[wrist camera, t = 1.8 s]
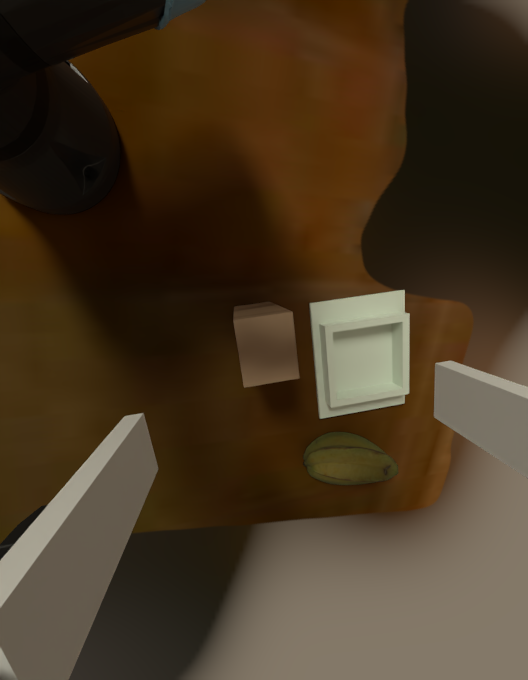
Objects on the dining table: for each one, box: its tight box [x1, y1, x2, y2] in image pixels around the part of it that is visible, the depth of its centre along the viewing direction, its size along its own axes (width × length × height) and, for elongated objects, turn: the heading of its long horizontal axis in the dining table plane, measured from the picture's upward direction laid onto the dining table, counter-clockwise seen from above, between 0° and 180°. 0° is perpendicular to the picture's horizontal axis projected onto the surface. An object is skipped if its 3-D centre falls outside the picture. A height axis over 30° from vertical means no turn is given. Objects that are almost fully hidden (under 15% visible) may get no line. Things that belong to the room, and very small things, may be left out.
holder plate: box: [309, 290, 409, 419], centre depth 36 cm, size 18×14×3 cm
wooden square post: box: [233, 302, 299, 388], centre depth 28 cm, size 6×5×14 cm
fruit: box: [303, 432, 398, 485], centre depth 38 cm, size 11×12×7 cm
